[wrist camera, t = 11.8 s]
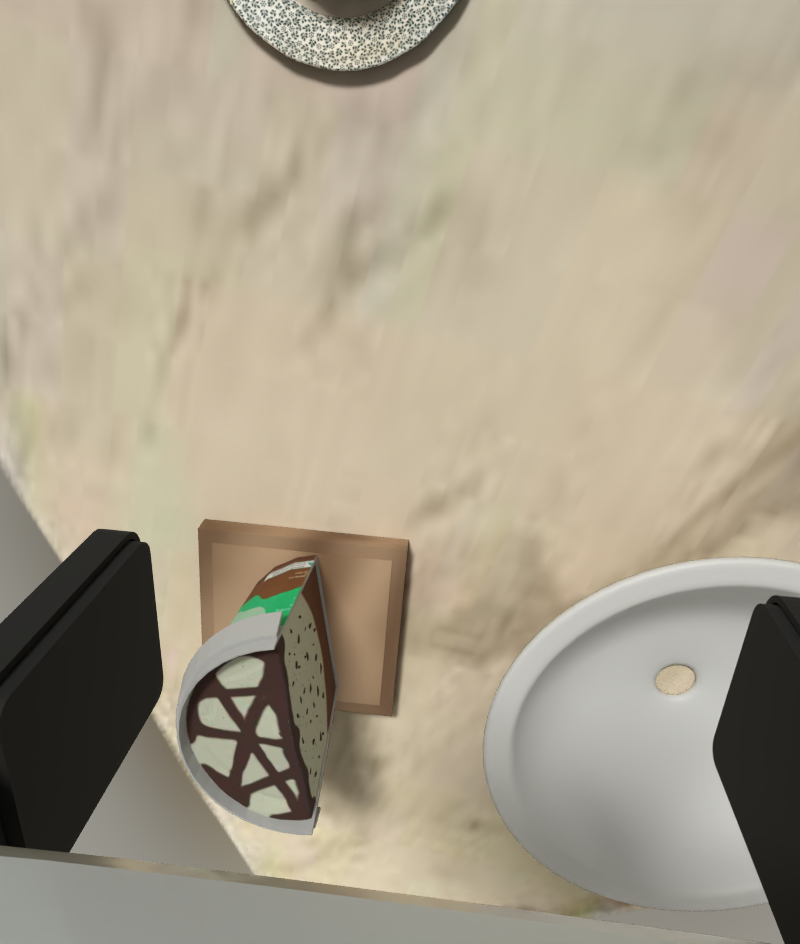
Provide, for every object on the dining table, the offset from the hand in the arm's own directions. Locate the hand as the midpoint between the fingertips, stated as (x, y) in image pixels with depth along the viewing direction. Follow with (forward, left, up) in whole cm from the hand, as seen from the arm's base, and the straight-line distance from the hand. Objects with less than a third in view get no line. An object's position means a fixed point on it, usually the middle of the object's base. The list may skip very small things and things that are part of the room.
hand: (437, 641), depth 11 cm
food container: (+8, +19, -26) cm, 33 cm away
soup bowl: (-16, +21, -28) cm, 38 cm away
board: (+7, +19, -27) cm, 34 cm away
